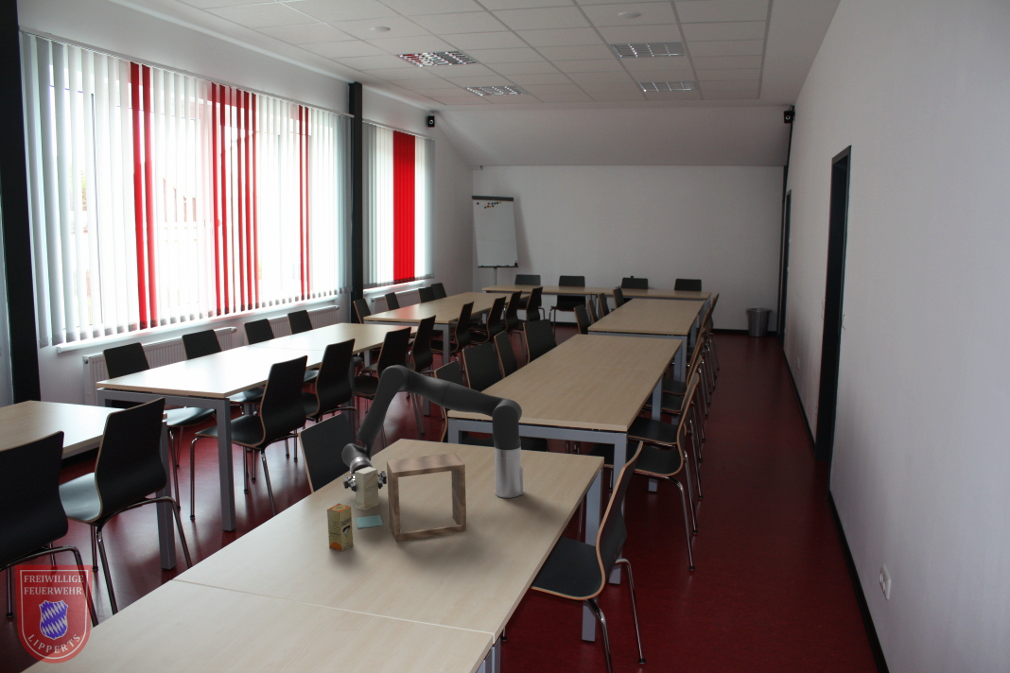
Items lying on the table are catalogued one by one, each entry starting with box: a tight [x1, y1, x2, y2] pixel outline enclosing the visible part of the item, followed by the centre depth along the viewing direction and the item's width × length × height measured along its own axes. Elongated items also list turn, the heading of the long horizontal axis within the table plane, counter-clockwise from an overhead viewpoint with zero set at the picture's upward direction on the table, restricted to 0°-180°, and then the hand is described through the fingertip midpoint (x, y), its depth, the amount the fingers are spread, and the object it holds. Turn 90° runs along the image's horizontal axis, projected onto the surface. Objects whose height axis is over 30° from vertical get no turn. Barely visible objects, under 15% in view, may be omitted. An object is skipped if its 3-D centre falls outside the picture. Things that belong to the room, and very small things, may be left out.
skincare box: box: [355, 467, 380, 511], centre depth 232 cm, size 6×4×12 cm
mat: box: [354, 514, 384, 530], centre depth 233 cm, size 8×8×1 cm
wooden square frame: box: [386, 452, 467, 542], centre depth 226 cm, size 22×12×22 cm, turn 107°
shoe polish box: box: [326, 503, 354, 552], centre depth 215 cm, size 5×5×12 cm
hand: (367, 487), depth 230 cm, fingers closed on skincare box, 7 cm apart
